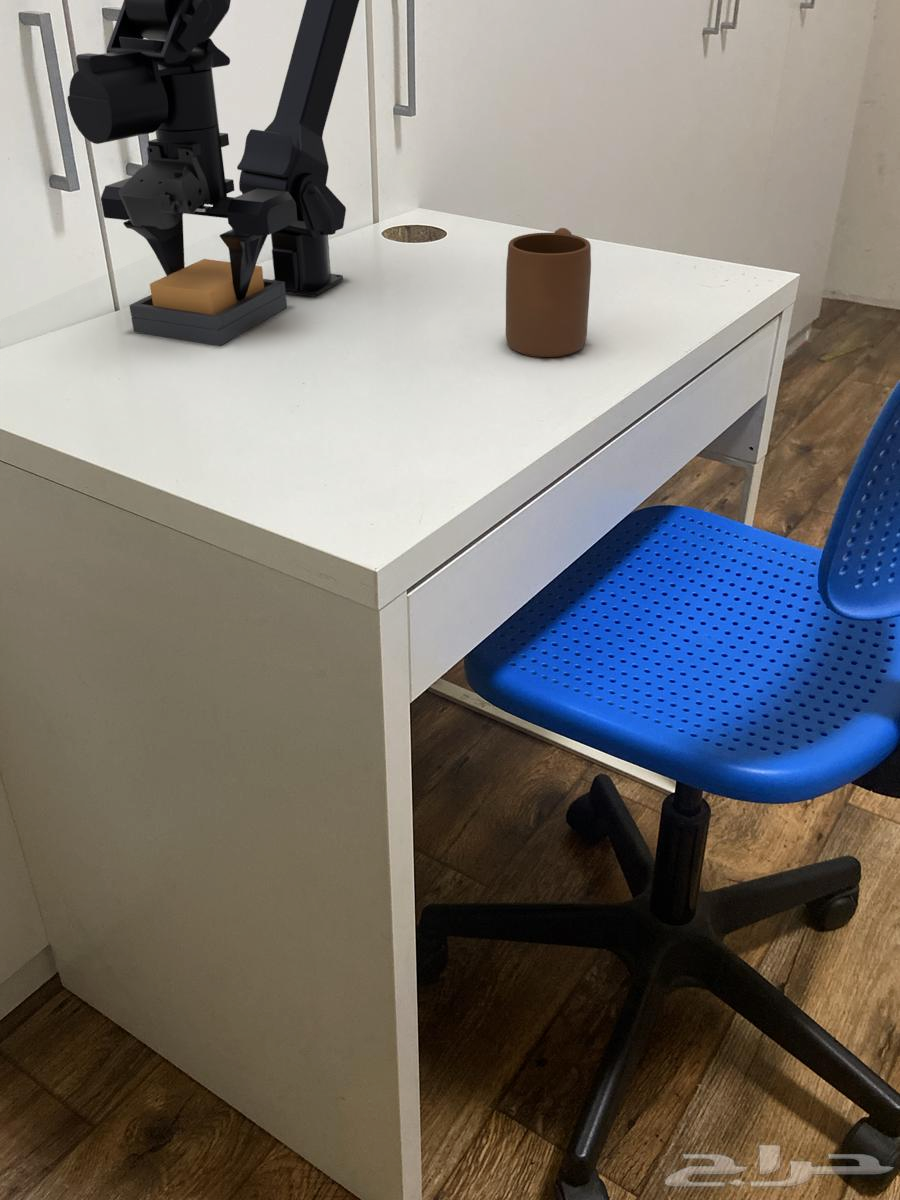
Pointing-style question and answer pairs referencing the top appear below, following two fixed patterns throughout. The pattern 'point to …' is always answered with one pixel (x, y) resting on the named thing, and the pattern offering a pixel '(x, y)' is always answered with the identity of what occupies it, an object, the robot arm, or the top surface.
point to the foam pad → (202, 287)
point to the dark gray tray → (209, 317)
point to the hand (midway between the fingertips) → (209, 294)
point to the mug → (547, 293)
